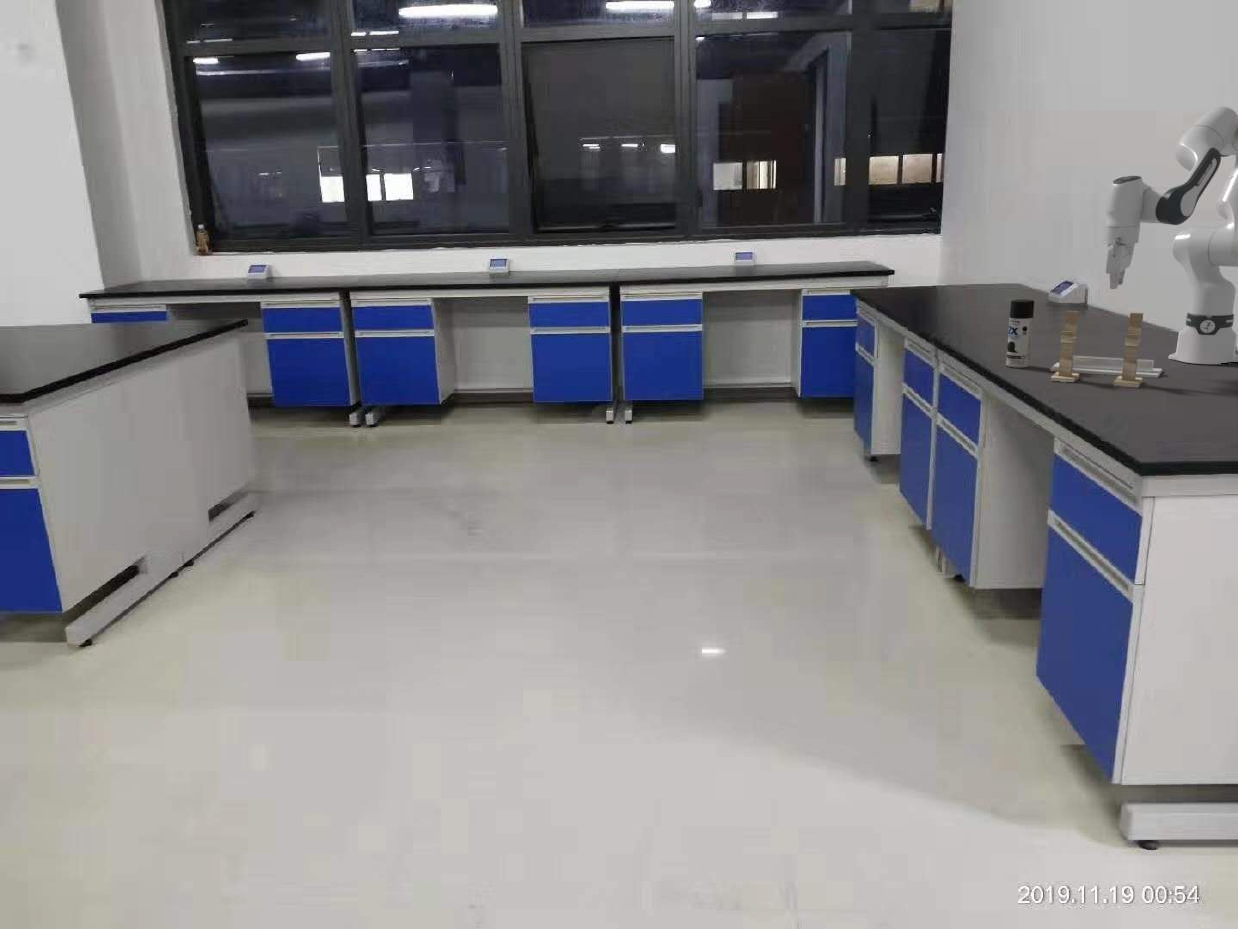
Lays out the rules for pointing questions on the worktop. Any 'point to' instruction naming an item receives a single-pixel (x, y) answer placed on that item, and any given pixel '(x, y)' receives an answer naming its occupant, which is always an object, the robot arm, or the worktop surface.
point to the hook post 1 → (1067, 349)
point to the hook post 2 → (1131, 353)
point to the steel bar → (1110, 363)
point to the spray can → (1020, 333)
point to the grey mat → (1110, 371)
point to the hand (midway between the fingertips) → (1116, 286)
